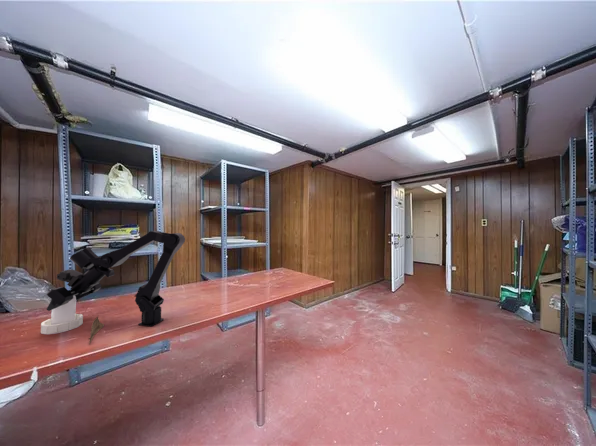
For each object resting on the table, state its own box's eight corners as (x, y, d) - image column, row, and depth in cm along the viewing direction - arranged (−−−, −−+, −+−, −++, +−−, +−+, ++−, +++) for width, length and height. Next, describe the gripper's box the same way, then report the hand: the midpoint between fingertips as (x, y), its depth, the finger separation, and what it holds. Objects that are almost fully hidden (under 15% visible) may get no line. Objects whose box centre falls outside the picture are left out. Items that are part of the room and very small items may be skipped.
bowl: (89, 322, 89) (89, 315, 89) (55, 335, 78) (55, 327, 78) (68, 319, 91) (69, 312, 91) (32, 332, 80) (32, 324, 80)
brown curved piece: (95, 343, 73) (95, 329, 73) (87, 345, 72) (87, 330, 72) (103, 326, 86) (104, 313, 86) (96, 327, 85) (97, 314, 85)
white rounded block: (65, 329, 82) (67, 297, 82) (45, 330, 80) (46, 298, 81) (79, 321, 88) (80, 292, 88) (61, 322, 87) (62, 293, 87)
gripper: (94, 259, 95) (64, 285, 93) (54, 267, 76) (15, 299, 74) (114, 276, 96) (84, 302, 94) (78, 288, 77) (41, 321, 75)
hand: (59, 305), depth 84 cm, fingers open, 9 cm apart
